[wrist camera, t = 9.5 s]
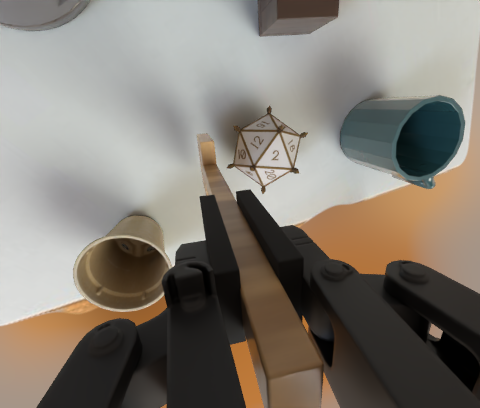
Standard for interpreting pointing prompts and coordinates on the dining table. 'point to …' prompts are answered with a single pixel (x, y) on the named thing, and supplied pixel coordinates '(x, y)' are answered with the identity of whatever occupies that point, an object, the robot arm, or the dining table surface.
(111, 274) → the flower pot
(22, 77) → the dining table surface
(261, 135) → the twenty-sided die
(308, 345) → the spatula
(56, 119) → the dining table surface
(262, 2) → the spatula holder
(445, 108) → the mug
